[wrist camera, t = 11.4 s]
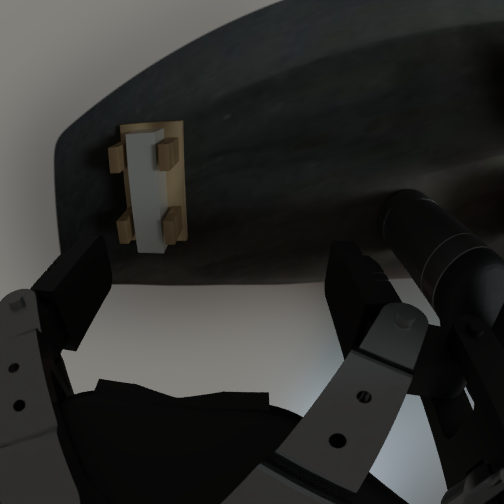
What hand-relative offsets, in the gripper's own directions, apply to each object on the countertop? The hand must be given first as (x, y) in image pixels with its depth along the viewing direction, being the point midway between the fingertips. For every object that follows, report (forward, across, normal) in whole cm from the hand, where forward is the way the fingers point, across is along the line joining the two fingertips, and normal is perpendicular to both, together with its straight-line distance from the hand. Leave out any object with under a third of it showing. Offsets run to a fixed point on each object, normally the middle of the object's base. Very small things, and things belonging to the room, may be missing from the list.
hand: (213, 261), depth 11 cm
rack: (+30, +11, +6) cm, 33 cm away
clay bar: (+29, +11, +6) cm, 32 cm away
